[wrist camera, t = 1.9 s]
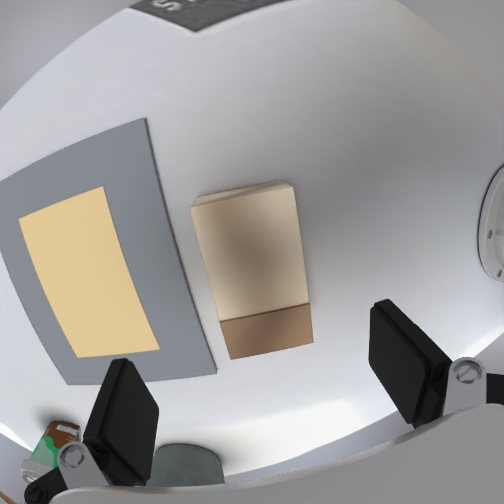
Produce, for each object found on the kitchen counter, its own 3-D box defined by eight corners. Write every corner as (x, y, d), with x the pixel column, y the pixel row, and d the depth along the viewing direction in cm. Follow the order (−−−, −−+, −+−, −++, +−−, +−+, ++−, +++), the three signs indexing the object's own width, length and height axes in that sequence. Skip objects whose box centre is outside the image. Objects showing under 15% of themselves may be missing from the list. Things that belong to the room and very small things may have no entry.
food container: (36, 399, 24) (6, 458, 15) (79, 420, 25) (55, 485, 16) (47, 443, 28) (28, 491, 18) (83, 459, 29) (68, 510, 19)
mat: (145, 118, 16) (143, 118, 16) (217, 369, 23) (217, 374, 23) (-13, 190, 16) (-17, 192, 16) (69, 381, 23) (67, 385, 23)
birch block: (280, 179, 19) (294, 187, 15) (299, 310, 22) (313, 342, 18) (197, 196, 19) (189, 208, 15) (229, 325, 22) (230, 359, 18)
